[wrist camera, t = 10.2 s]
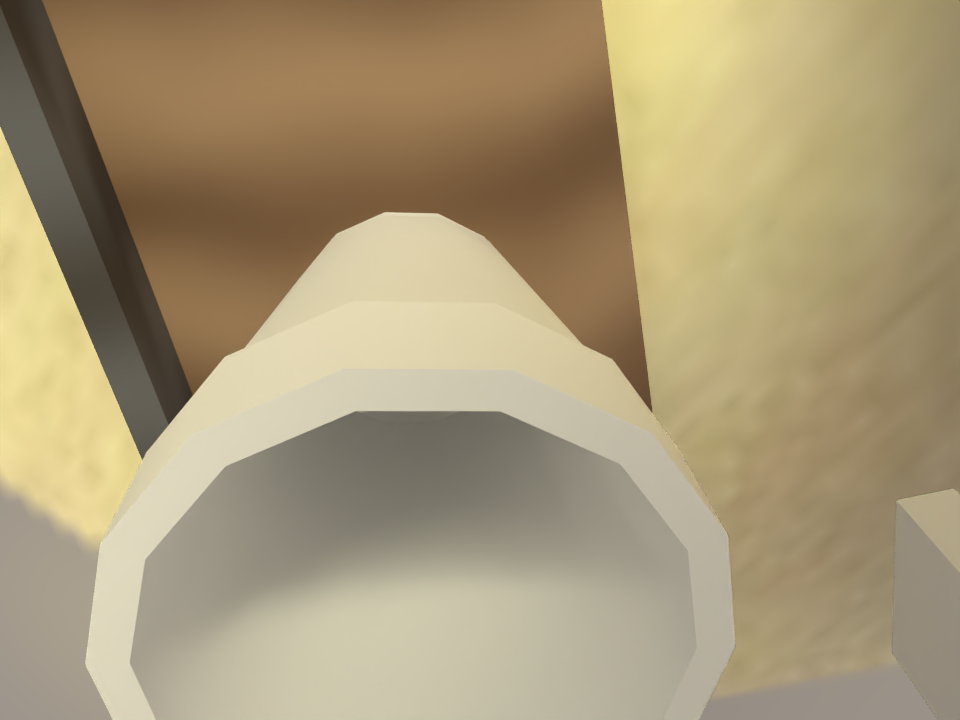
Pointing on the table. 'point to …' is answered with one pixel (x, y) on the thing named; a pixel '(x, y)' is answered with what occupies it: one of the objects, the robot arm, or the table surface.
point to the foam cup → (412, 515)
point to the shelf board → (307, 161)
